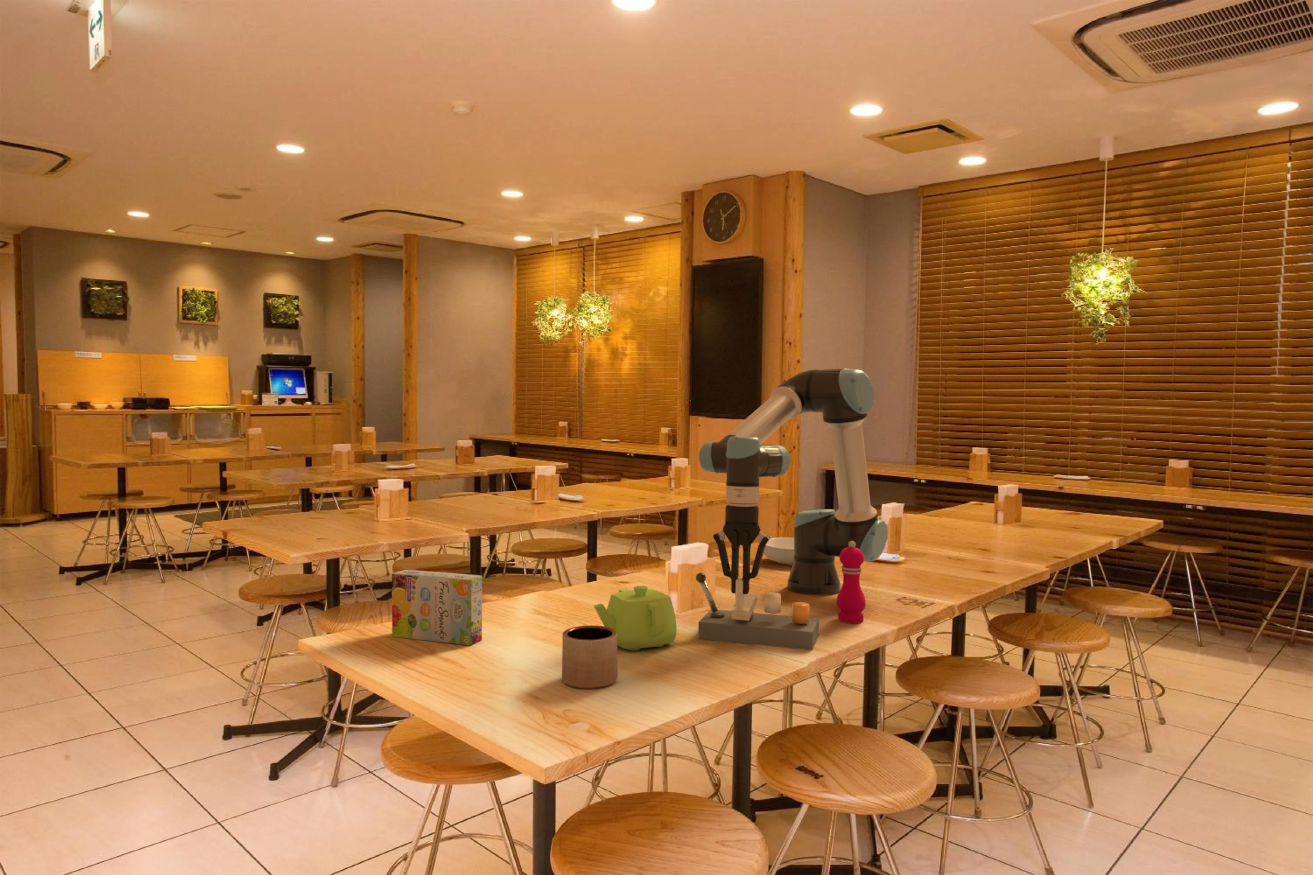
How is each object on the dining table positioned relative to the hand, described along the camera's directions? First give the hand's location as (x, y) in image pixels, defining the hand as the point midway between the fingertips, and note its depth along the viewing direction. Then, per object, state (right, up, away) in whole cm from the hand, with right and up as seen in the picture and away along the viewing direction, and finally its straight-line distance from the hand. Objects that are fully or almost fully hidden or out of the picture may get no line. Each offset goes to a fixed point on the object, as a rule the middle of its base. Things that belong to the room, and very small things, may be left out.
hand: (739, 607), depth 189 cm
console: (+5, -8, +4) cm, 10 cm away
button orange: (+14, -3, +1) cm, 14 cm away
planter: (-32, -9, -26) cm, 42 cm away
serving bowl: (+27, -4, +92) cm, 95 cm away
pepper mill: (+30, -7, +19) cm, 36 cm away
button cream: (+8, -1, +3) cm, 8 cm away
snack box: (-69, -8, +2) cm, 70 cm away
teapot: (-24, -8, -2) cm, 26 cm away
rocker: (+2, -2, +5) cm, 5 cm away
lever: (-5, -2, +7) cm, 9 cm away
